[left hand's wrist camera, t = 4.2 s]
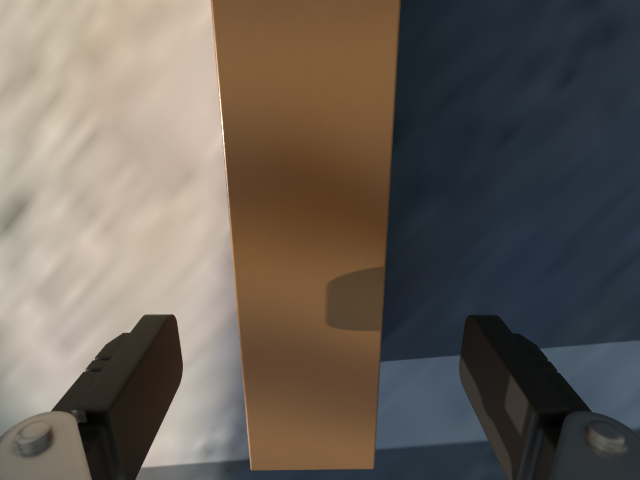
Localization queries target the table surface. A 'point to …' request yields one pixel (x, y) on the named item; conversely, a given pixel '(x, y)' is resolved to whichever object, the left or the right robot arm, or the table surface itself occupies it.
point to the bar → (308, 218)
